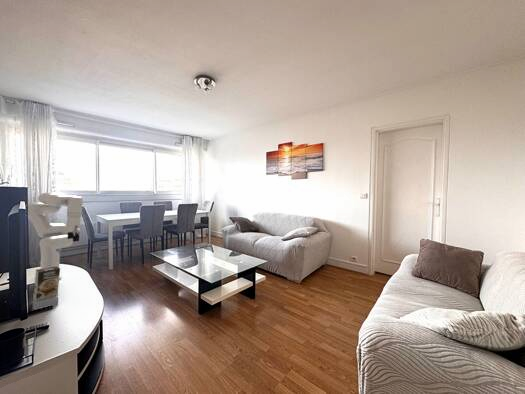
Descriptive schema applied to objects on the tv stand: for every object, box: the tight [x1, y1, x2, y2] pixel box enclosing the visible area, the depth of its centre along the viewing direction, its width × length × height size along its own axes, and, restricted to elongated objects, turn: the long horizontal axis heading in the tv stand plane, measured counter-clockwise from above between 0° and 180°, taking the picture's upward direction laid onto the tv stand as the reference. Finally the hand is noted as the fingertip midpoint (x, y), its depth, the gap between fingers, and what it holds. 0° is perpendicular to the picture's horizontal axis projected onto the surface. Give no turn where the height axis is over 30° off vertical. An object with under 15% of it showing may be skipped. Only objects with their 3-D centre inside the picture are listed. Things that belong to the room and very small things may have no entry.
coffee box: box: [32, 266, 61, 301], centre depth 121 cm, size 9×6×16 cm
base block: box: [32, 294, 59, 310], centre depth 121 cm, size 11×10×5 cm
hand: (73, 239), depth 139 cm, fingers open, 9 cm apart
